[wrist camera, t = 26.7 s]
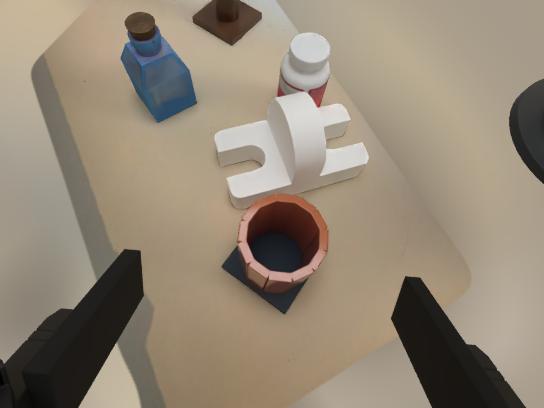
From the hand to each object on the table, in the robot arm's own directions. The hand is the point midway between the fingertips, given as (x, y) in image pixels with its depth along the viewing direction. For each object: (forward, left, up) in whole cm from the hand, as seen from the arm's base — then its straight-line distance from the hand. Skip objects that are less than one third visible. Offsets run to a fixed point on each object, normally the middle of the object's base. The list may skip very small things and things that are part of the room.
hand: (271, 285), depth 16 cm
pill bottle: (+12, -26, -21) cm, 35 cm away
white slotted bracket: (+8, -18, -21) cm, 29 cm away
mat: (+2, -6, -21) cm, 22 cm away
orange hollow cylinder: (+2, -6, -20) cm, 21 cm away
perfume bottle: (+28, -16, -21) cm, 38 cm away
